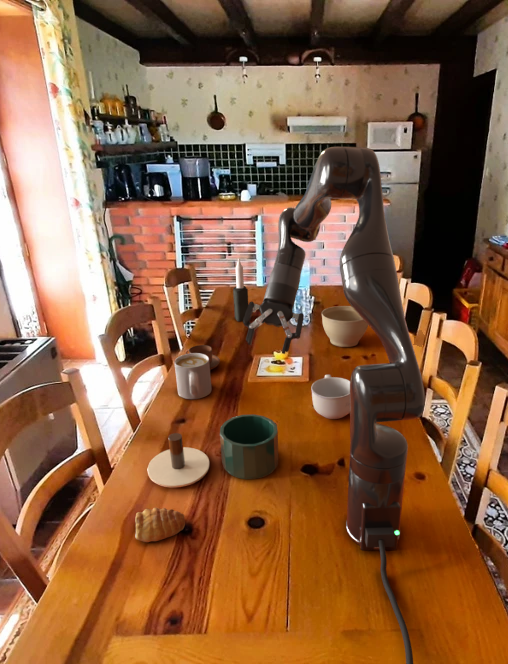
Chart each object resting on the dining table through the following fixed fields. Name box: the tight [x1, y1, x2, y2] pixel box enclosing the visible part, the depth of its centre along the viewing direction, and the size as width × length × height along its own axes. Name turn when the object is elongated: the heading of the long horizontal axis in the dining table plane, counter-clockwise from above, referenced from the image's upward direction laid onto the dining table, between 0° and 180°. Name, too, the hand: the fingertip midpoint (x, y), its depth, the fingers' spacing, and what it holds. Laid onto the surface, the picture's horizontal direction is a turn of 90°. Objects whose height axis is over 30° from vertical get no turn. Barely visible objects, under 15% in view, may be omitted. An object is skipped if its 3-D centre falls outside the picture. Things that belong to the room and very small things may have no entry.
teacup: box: [310, 374, 350, 420], centre depth 126 cm, size 14×11×8 cm
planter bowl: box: [321, 305, 369, 348], centre depth 167 cm, size 16×16×11 cm
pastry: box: [134, 507, 186, 543], centre depth 91 cm, size 9×7×4 cm
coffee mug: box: [174, 352, 213, 400], centre depth 139 cm, size 13×10×10 cm
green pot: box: [219, 413, 279, 480], centre depth 108 cm, size 13×13×8 cm
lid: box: [146, 432, 210, 488], centre depth 107 cm, size 14×14×9 cm
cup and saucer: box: [185, 344, 221, 371], centre depth 156 cm, size 12×12×6 cm
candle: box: [232, 258, 249, 322], centre depth 192 cm, size 5×5×25 cm
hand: (266, 349), depth 117 cm, fingers open, 8 cm apart
